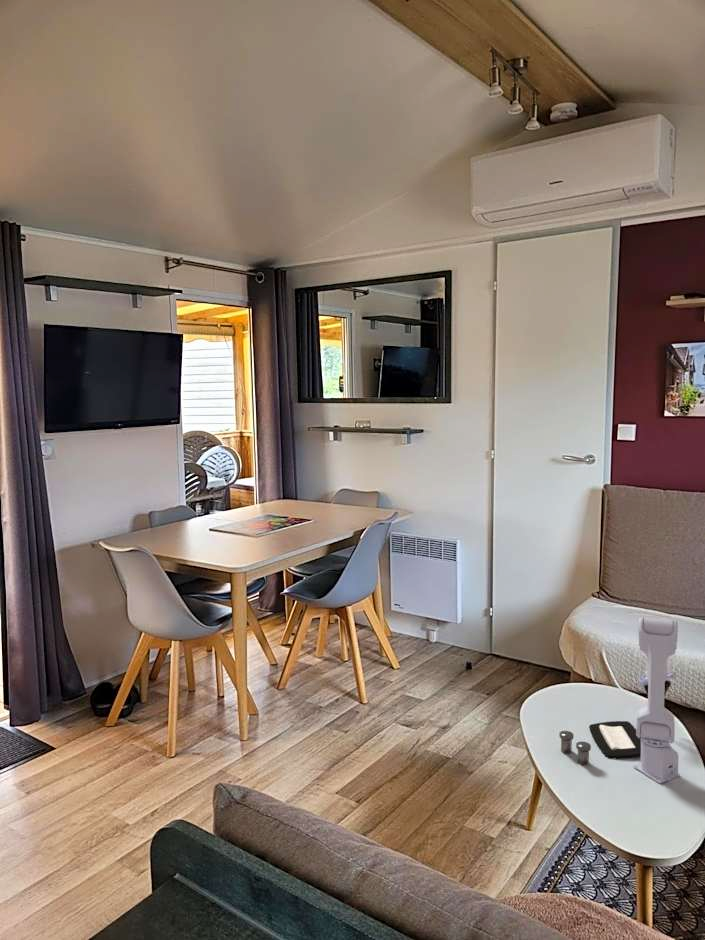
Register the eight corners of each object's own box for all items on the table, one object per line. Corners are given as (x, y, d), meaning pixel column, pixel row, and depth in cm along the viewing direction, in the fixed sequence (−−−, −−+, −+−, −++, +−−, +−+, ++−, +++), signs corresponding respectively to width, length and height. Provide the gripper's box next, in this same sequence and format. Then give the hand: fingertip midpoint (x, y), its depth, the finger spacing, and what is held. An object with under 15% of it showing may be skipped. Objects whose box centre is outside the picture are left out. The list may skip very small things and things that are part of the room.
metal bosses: (593, 764, 204) (593, 746, 203) (583, 767, 202) (583, 750, 202) (566, 746, 214) (566, 729, 213) (556, 749, 212) (556, 732, 211)
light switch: (585, 720, 225) (630, 716, 224) (586, 729, 226) (630, 724, 225) (603, 754, 206) (653, 750, 205) (604, 763, 206) (653, 759, 205)
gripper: (663, 652, 225) (661, 692, 227) (629, 662, 219) (628, 703, 221) (681, 660, 219) (680, 701, 221) (647, 670, 213) (646, 713, 215)
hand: (655, 703), depth 221 cm, fingers closed
